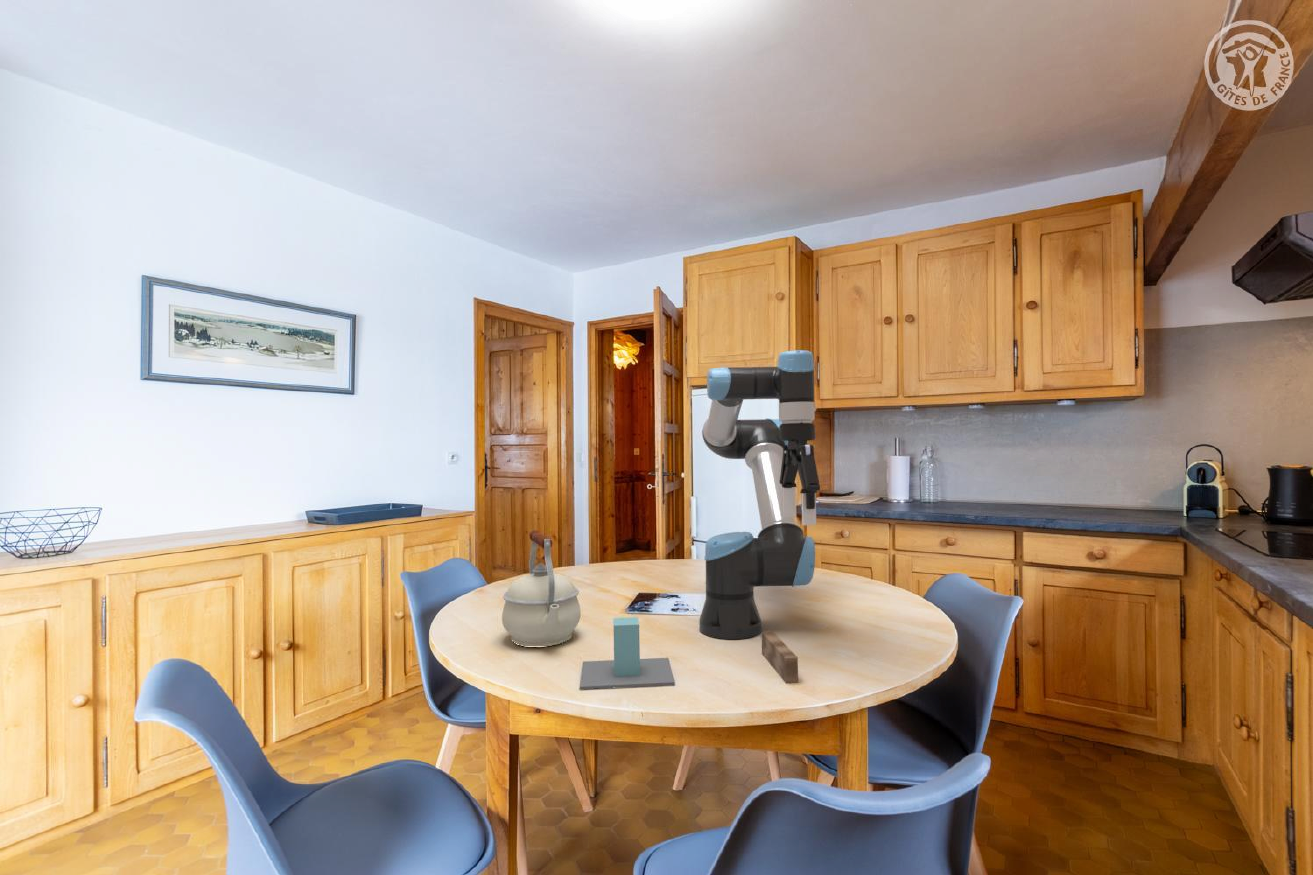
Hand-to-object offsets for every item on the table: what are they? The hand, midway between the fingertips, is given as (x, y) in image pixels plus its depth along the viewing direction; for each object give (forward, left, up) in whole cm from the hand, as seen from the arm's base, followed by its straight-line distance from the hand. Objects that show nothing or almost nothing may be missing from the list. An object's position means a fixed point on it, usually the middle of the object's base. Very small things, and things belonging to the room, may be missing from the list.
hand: (798, 520), depth 129 cm
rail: (+7, -7, -29) cm, 31 cm away
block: (+7, -38, -28) cm, 48 cm away
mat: (+7, -38, -29) cm, 48 cm away
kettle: (-16, -57, -29) cm, 66 cm away
